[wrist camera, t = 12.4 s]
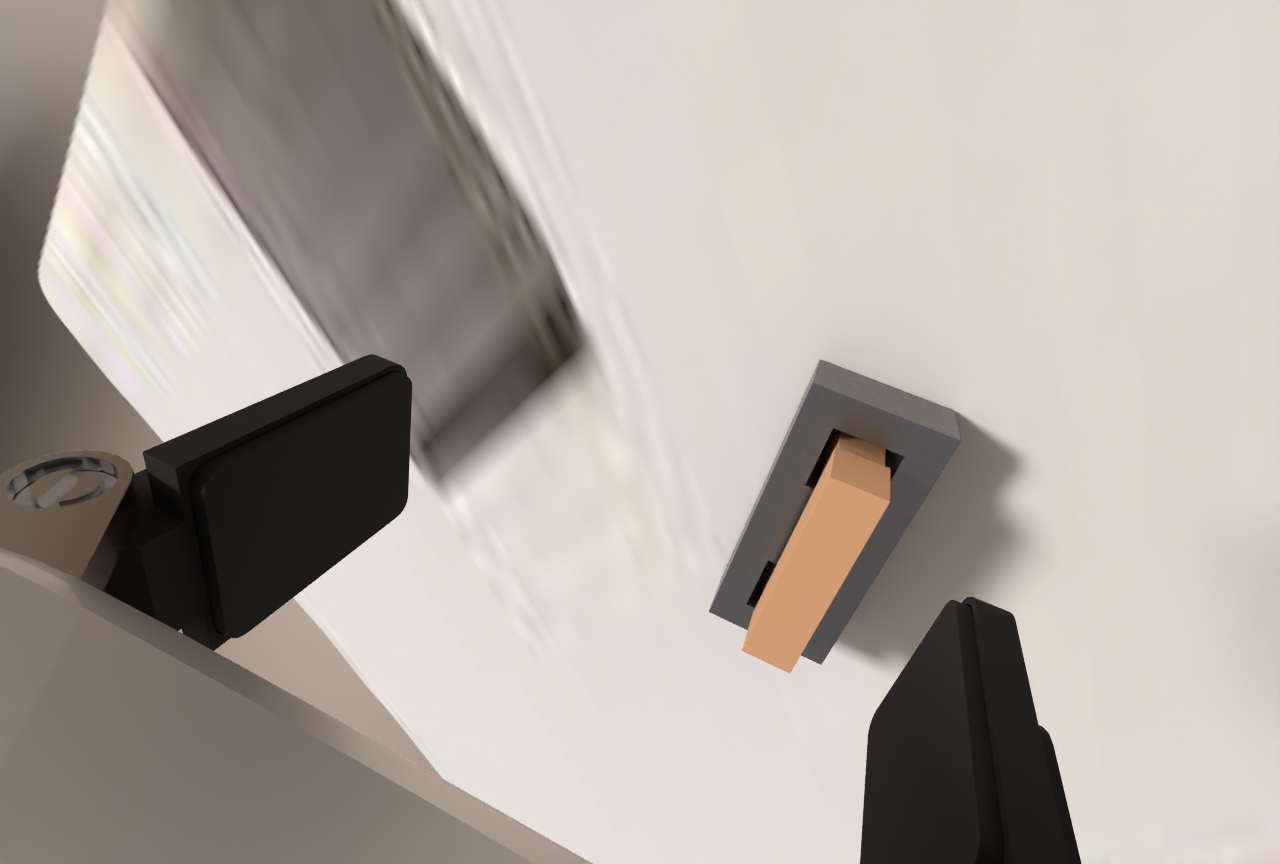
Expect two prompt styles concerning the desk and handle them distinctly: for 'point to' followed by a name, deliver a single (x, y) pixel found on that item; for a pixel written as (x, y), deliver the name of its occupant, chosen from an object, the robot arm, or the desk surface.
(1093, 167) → the desk surface
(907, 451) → the dark gray slotted block
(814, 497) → the tan block
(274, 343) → the desk surface
